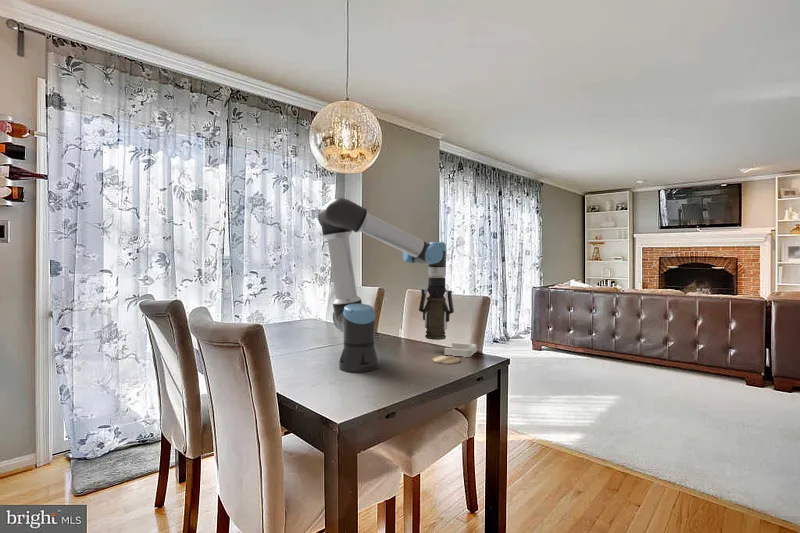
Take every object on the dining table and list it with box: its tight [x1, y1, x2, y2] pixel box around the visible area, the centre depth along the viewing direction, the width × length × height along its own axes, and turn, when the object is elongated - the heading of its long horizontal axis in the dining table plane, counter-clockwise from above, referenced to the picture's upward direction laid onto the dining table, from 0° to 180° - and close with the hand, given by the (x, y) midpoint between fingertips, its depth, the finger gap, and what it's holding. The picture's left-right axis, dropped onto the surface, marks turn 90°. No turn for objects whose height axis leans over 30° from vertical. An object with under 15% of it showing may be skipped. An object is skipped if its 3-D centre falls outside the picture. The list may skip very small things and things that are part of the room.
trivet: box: [432, 355, 461, 365], centre depth 169 cm, size 11×11×1 cm
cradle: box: [444, 342, 478, 358], centre depth 182 cm, size 11×14×3 cm
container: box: [424, 296, 447, 341], centre depth 186 cm, size 9×9×18 cm
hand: (435, 328), depth 186 cm, fingers closed on container, 8 cm apart
